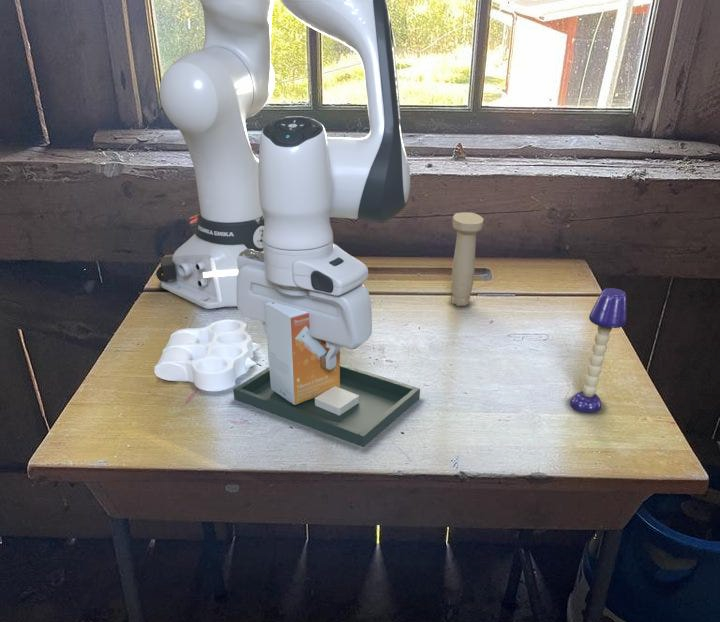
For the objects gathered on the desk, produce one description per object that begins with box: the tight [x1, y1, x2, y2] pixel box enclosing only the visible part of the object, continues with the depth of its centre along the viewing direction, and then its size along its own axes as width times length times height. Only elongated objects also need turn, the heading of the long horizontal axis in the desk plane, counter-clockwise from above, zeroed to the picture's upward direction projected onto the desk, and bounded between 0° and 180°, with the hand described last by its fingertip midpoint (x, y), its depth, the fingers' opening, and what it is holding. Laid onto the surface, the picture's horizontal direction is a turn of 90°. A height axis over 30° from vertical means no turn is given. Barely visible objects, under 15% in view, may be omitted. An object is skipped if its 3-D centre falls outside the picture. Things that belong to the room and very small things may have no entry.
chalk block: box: [315, 386, 359, 416], centre depth 100 cm, size 4×4×1 cm
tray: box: [232, 363, 421, 448], centre depth 101 cm, size 22×15×2 cm
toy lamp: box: [569, 287, 627, 414], centre depth 97 cm, size 5×5×17 cm
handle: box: [450, 211, 484, 307], centre depth 125 cm, size 5×6×15 cm
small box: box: [265, 302, 341, 405], centre depth 99 cm, size 8×6×13 cm
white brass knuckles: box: [153, 318, 262, 392], centre depth 110 cm, size 3×18×15 cm
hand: (303, 359), depth 100 cm, fingers closed on small box, 7 cm apart
